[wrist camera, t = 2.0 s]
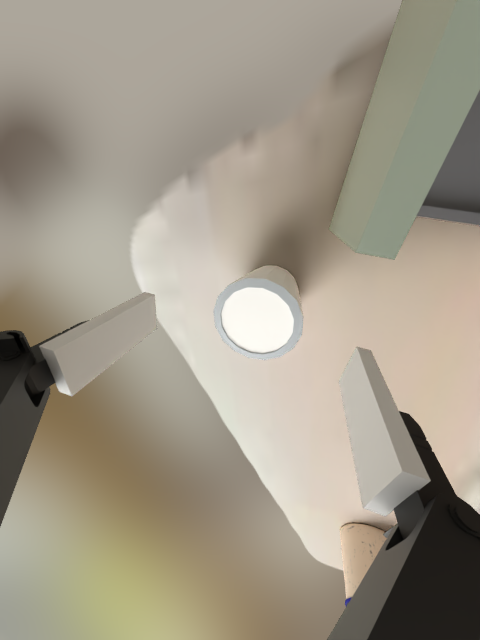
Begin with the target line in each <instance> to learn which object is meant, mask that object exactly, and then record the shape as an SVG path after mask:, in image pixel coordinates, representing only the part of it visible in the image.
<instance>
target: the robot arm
mask: <svg viewBox="0 0 480 640" xmlns="http://www.w3.org/2000/svg"><path fill="white" fill-rule="evenodd" d="M156 329H157V319H156V306H155V295H154V294H150V293H146V292H144V293H142V294H140V295H138V296H136V297H134V298H132V299H130V300H128V301H126V302H125V303H122V304H120V305H119V306H117V307H115V308H113V309H111V310H109V311H107V312H105V313H103V314H101V315H99V316H97V317H95V318H93V319H91V320H88V321H85V322H81V323H79V324H77V325H75V326H73V327H71V328H70V329H67V330H65V331H63V332H62V333H59V334H57V335H55V336H53V337H51V338H49V339H47V340H45V341H43V342H41V343H39V344H37V345H35V346H33V347H30V346H29V344H28V342H27V339H26V337H25V335H24V334H23V333H22V332H21V331H16V330H13V331H3V332H0V526H1V523H2V520H3V518H4V515H5V513H6V510H7V507H8V505H9V502H10V499H11V497H12V494H13V491H14V488H15V486H16V483H17V480H18V478H19V475H20V472H21V470H22V467H23V464H24V462H25V459H26V456H27V454H28V451H29V448H30V446H31V443H32V440H33V438H34V435H35V432H36V429H37V427H38V424H39V422H40V419H41V416H42V413H43V410H44V408H45V405H46V403H47V400H48V397H49V395H50V388H49V386H51V385H52V384H54V383H56V385H57V388H58V390H59V391H60V392H62V393H65V394H67V395H70V396H73V395H74V394H76V393H77V392H78V391H79V390H80V389H82V388H83V387H84V386H85V385H87V384H88V383H89V382H90V381H92V380H93V379H94V378H96V377H97V376H98V375H99V374H101V373H102V372H103V371H104V370H106V369H107V368H108V367H109V366H111V365H112V364H113V363H114V362H116V361H117V360H118V359H119V358H121V357H122V356H123V355H124V354H126V353H127V352H128V351H130V350H131V349H132V348H133V347H134V346H136V345H137V344H138V343H140V342H141V341H142V340H143V339H144V338H146V337H147V336H148V335H150V334H151V333H152V332H153V331H155V330H156ZM339 385H340V390H341V396H342V401H343V406H344V411H345V417H346V422H347V427H348V432H349V438H350V443H351V448H352V453H353V459H354V464H355V469H356V474H357V480H358V485H359V490H360V495H361V501H362V506H363V508H364V509H367V510H369V511H372V512H375V513H377V514H380V515H382V516H385V517H386V516H387V515H388V514H389V513H391V512H392V511H393V510H394V512H395V515H396V518H397V522H398V524H396V525H395V526H394V527H392V528H391V529H389V530H388V531H387V532H385V533H384V534H383V535H384V536H385V537H386V538H387V539H386V540H385V542H384V544H383V546H382V547H381V549H380V551H379V552H378V554H377V556H376V557H375V559H374V561H373V563H372V564H371V566H370V568H369V569H368V571H367V573H366V574H365V576H364V578H363V580H362V581H361V583H360V585H359V586H358V588H357V590H356V591H355V593H354V595H353V597H352V598H351V600H350V602H349V603H348V605H347V607H346V609H345V610H344V612H343V614H342V615H341V617H340V619H339V620H338V622H337V624H336V626H335V627H334V629H333V631H332V632H331V634H330V636H329V637H328V639H327V640H480V515H479V514H478V513H477V512H476V511H475V510H474V509H473V508H472V507H471V506H470V505H469V504H467V503H466V502H465V501H463V500H462V499H460V498H459V497H457V495H456V494H455V492H454V490H453V488H452V486H451V484H450V482H449V481H448V479H447V477H446V475H445V473H444V471H443V469H442V467H441V465H440V463H439V462H438V460H437V458H436V456H435V454H434V452H432V448H431V446H430V444H429V443H428V441H426V437H425V435H424V433H423V431H422V429H421V427H420V426H419V425H418V424H417V422H416V421H415V420H414V419H413V418H412V417H411V416H410V415H409V414H407V413H403V412H400V411H398V409H397V406H396V404H395V402H394V400H393V398H392V395H391V393H390V391H389V389H388V387H387V385H386V382H385V380H384V378H383V376H382V374H381V372H380V369H379V367H378V365H377V363H376V361H375V359H374V356H373V354H372V352H371V350H367V349H363V348H360V347H356V349H355V351H354V353H353V354H352V356H351V358H350V360H349V362H348V364H347V366H346V368H345V370H344V372H343V374H342V376H341V377H340V379H339Z"/></svg>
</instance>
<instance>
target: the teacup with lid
mask: <svg viewBox="0 0 480 640" xmlns="http://www.w3.org/2000/svg"><path fill="white" fill-rule="evenodd" d="M384 533H385V532H384V531H382V530H380V529H378V528H375V527H372V526H369V525H364V524H347V525H344V526H343V527H342V528H341V530H340V538H341V548H342V558H343V568H344V578H345V588H346V601H345V605H346V607H347V605H348V603H349V602H350V600H351V598H352V597H353V595H354V593H355V591H356V590H357V588H358V586H359V585H360V583H361V581H362V580H363V578H364V576H365V574H366V573H367V571H368V569H369V568H370V566H371V564H372V563H373V561H374V559H375V557H376V556H377V554H378V552H379V551H380V549H381V547H382V546H383V544H384V542H385V540H386V539H387V538H386V537H385V536H384V535H383V534H384Z"/></svg>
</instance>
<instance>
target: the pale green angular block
mask: <svg viewBox="0 0 480 640" xmlns="http://www.w3.org/2000/svg"><path fill="white" fill-rule="evenodd" d="M416 217H421V218H428V219H434V220H441V221H448V222H455V223H462V224H468V225H475V226H480V0H402V3H401V6H400V10H399V13H398V16H397V19H396V22H395V25H394V28H393V31H392V34H391V37H390V41H389V44H388V47H387V50H386V53H385V56H384V59H383V62H382V65H381V68H380V72H379V75H378V78H377V81H376V84H375V87H374V90H373V93H372V96H371V100H370V103H369V106H368V109H367V112H366V115H365V118H364V121H363V124H362V127H361V131H360V134H359V137H358V140H357V143H356V146H355V149H354V152H353V155H352V159H351V162H350V165H349V168H348V171H347V174H346V177H345V180H344V183H343V186H342V190H341V193H340V196H339V199H338V202H337V205H336V208H335V211H334V214H333V218H332V221H331V224H330V227H329V230H330V231H331V232H332V233H333V234H334V235H336V236H337V237H338V238H339V239H340V240H341V241H343V242H344V243H345V244H346V245H347V246H348V247H350V248H351V249H352V250H353V251H354V252H355V253H361V254H366V255H371V256H377V257H382V258H388V259H393V260H395V258H396V256H397V254H398V252H399V250H400V248H401V246H402V244H403V242H404V240H405V238H406V236H407V234H408V232H409V230H410V228H411V226H412V224H413V222H414V220H415V218H416Z"/></svg>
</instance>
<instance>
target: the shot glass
mask: <svg viewBox="0 0 480 640" xmlns="http://www.w3.org/2000/svg"><path fill="white" fill-rule="evenodd" d="M214 320H215V327H216V329H217V330H218V332H219V334H220V336H221V338H222V340H223V341H224V342H225V343H226V344H227V345H228V346H230V347H231V348H232V349H233V350H234V351H236V352H238V353H240V354H242V355H244V356H246V357H248V358H254V359H261V360H267V359H272V358H277V357H281V356H282V355H284V354H285V353H287V352H288V351H290V350H291V349H293V348H294V347H295V345H296V343H297V342H298V340H299V338H300V337H301V335H302V328H303V313H302V307H301V301H300V295H299V289H298V286H297V283H296V281H295V278H294V277H293V276H292V275H291V274H290V273H289V272H288V271H287V270H286V269H283V268H281V267H279V266H276V265H265V266H262V267H260V268H258V269H255V270H253V271H252V272H250V273H248V274H247V275H245V276H243V277H241V278H240V279H238V280H236V281H235V282H233V283H231V284H229V285H228V286H227V287H226V289H225V290H224V291H223V292H222V293H221V294H220V295H219V296H218V298H217V302H216V305H215V308H214Z"/></svg>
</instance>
